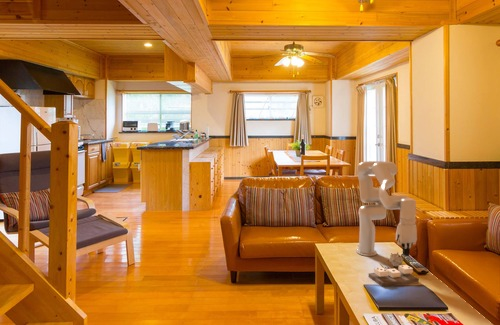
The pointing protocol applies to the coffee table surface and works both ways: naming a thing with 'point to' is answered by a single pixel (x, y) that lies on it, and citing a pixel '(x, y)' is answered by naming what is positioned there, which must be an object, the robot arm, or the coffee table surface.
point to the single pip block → (393, 273)
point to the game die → (396, 260)
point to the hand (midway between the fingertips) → (405, 255)
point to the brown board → (393, 279)
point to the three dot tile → (381, 271)
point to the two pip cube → (405, 269)
